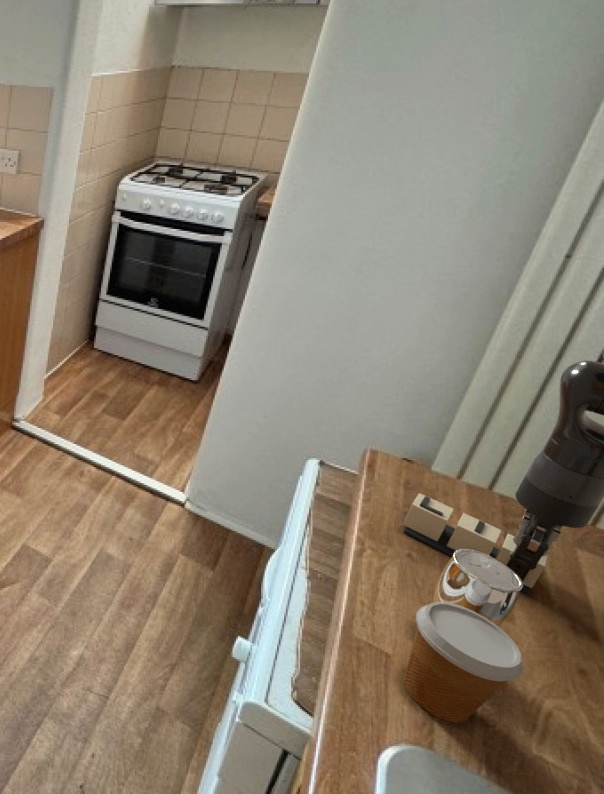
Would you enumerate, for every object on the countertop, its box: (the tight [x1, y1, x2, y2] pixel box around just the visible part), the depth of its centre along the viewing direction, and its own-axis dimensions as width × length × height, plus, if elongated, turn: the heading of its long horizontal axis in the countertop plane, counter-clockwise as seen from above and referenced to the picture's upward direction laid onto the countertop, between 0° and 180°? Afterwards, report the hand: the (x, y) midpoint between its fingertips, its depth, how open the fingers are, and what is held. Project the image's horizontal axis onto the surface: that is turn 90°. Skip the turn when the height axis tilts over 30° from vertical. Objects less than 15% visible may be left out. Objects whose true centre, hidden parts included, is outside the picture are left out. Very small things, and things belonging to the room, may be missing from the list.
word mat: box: [403, 524, 531, 595], centre depth 100 cm, size 15×8×1 cm, turn 36°
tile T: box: [495, 533, 550, 589], centre depth 95 cm, size 5×5×5 cm
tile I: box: [447, 512, 502, 556], centre depth 99 cm, size 5×5×5 cm
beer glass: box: [432, 549, 523, 628], centre depth 81 cm, size 7×7×15 cm
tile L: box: [402, 493, 455, 541], centre depth 103 cm, size 5×5×5 cm
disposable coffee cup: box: [403, 601, 524, 724], centre depth 75 cm, size 10×10×12 cm
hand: (514, 569), depth 96 cm, fingers closed on tile T, 4 cm apart
